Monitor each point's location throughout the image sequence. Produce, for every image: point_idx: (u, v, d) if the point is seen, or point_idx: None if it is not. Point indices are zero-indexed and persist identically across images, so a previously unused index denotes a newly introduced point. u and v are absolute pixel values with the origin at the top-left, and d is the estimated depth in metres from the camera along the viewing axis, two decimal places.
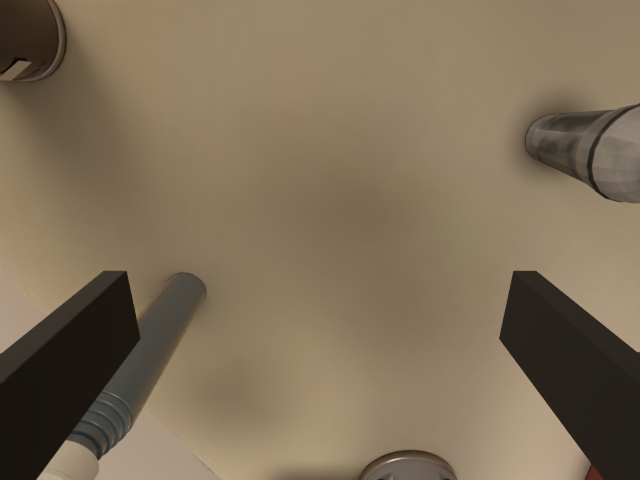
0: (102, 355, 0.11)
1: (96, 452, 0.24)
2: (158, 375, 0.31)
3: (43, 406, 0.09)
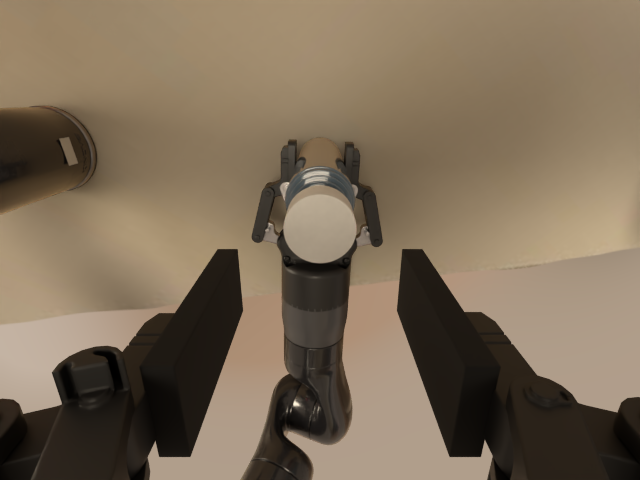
0: (228, 320, 0.13)
1: None
2: (337, 161, 0.29)
3: (208, 354, 0.10)
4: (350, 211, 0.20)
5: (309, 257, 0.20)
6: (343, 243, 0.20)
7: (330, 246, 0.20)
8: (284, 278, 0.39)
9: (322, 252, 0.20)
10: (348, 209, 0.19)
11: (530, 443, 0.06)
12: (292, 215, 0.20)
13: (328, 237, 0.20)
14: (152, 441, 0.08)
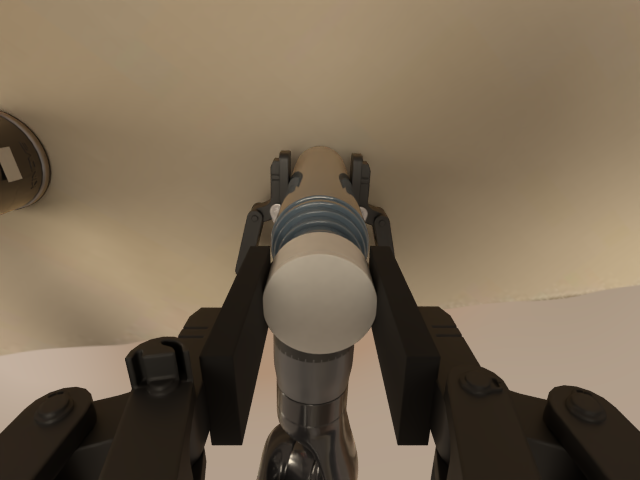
0: None
1: None
2: (342, 183, 0.22)
3: (252, 347, 0.11)
4: (368, 279, 0.12)
5: (303, 346, 0.13)
6: (356, 326, 0.13)
7: (336, 330, 0.13)
8: None
9: (323, 339, 0.13)
10: (365, 276, 0.12)
11: (464, 432, 0.07)
12: (276, 285, 0.12)
13: (333, 317, 0.13)
14: (207, 429, 0.09)
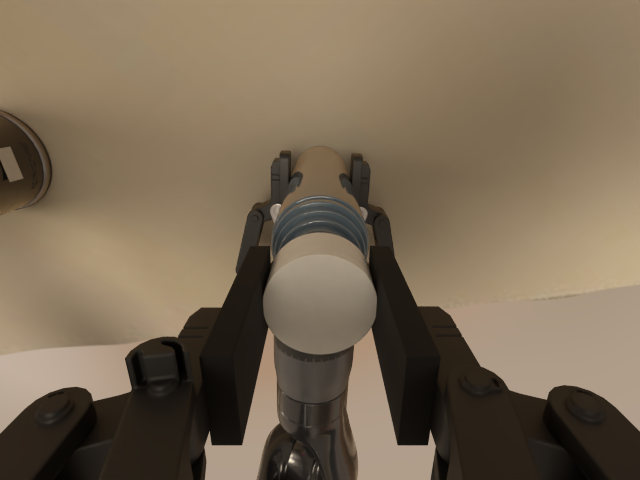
0: None
1: None
2: (342, 183, 0.22)
3: (252, 347, 0.11)
4: (271, 280, 0.12)
5: (370, 303, 0.13)
6: (325, 268, 0.12)
7: (338, 283, 0.12)
8: None
9: (353, 290, 0.12)
10: (269, 284, 0.12)
11: (464, 432, 0.07)
12: (316, 348, 0.13)
13: (325, 291, 0.12)
14: (207, 429, 0.09)
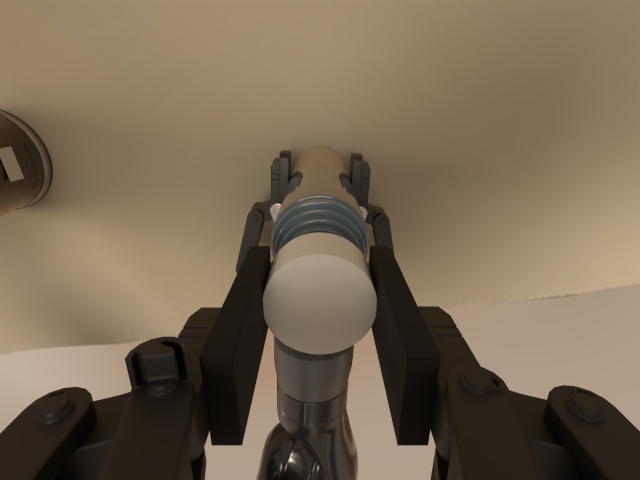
0: None
1: None
2: (342, 182, 0.22)
3: (252, 347, 0.11)
4: (312, 352, 0.13)
5: (293, 268, 0.12)
6: (278, 319, 0.13)
7: (287, 302, 0.13)
8: None
9: (287, 288, 0.12)
10: (317, 352, 0.13)
11: (464, 432, 0.07)
12: (366, 293, 0.12)
13: (301, 310, 0.13)
14: (207, 429, 0.09)
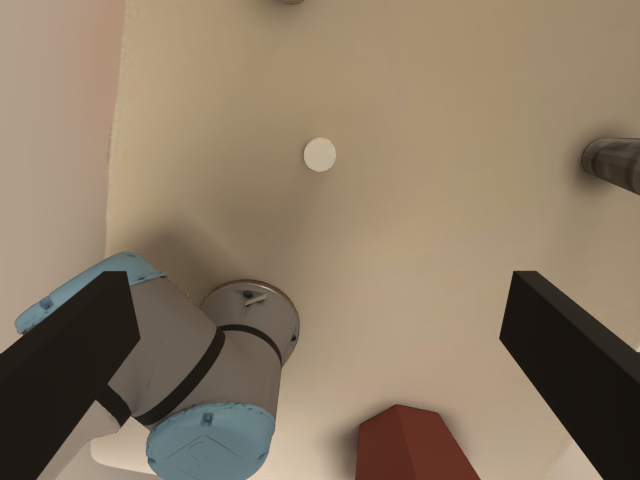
0: (102, 355, 0.11)
1: None
2: None
3: (43, 406, 0.09)
4: (334, 150, 0.45)
5: (311, 167, 0.46)
6: (328, 164, 0.45)
7: (322, 164, 0.45)
8: None
9: (317, 166, 0.46)
10: (334, 149, 0.45)
11: None
12: (309, 145, 0.45)
13: (322, 160, 0.45)
14: None
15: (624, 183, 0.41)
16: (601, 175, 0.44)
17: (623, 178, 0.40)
